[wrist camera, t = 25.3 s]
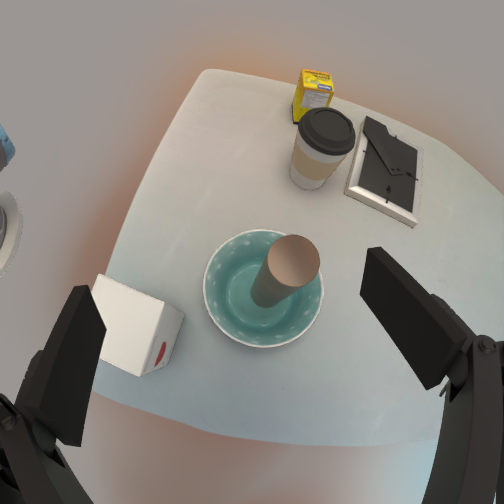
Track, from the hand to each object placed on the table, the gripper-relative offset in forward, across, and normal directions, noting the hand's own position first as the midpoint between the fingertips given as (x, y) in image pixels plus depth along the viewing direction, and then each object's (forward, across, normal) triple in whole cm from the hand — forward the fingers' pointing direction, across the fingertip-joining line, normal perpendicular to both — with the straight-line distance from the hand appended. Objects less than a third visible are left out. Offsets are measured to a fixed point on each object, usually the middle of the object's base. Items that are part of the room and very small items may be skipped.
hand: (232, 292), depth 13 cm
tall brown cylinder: (+18, +5, -15) cm, 24 cm away
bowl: (+25, +5, -20) cm, 32 cm away
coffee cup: (+40, +18, -5) cm, 44 cm away
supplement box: (+50, +21, +5) cm, 55 cm away
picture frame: (+40, +36, -5) cm, 54 cm away
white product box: (+23, -12, -22) cm, 34 cm away
